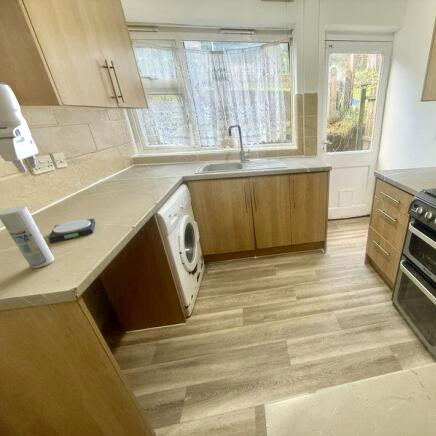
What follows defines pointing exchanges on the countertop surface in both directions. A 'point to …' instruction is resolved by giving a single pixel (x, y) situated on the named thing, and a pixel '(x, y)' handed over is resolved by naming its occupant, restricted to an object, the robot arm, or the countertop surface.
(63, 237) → the kitchen scale
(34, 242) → the spray can
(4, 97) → the robot arm
